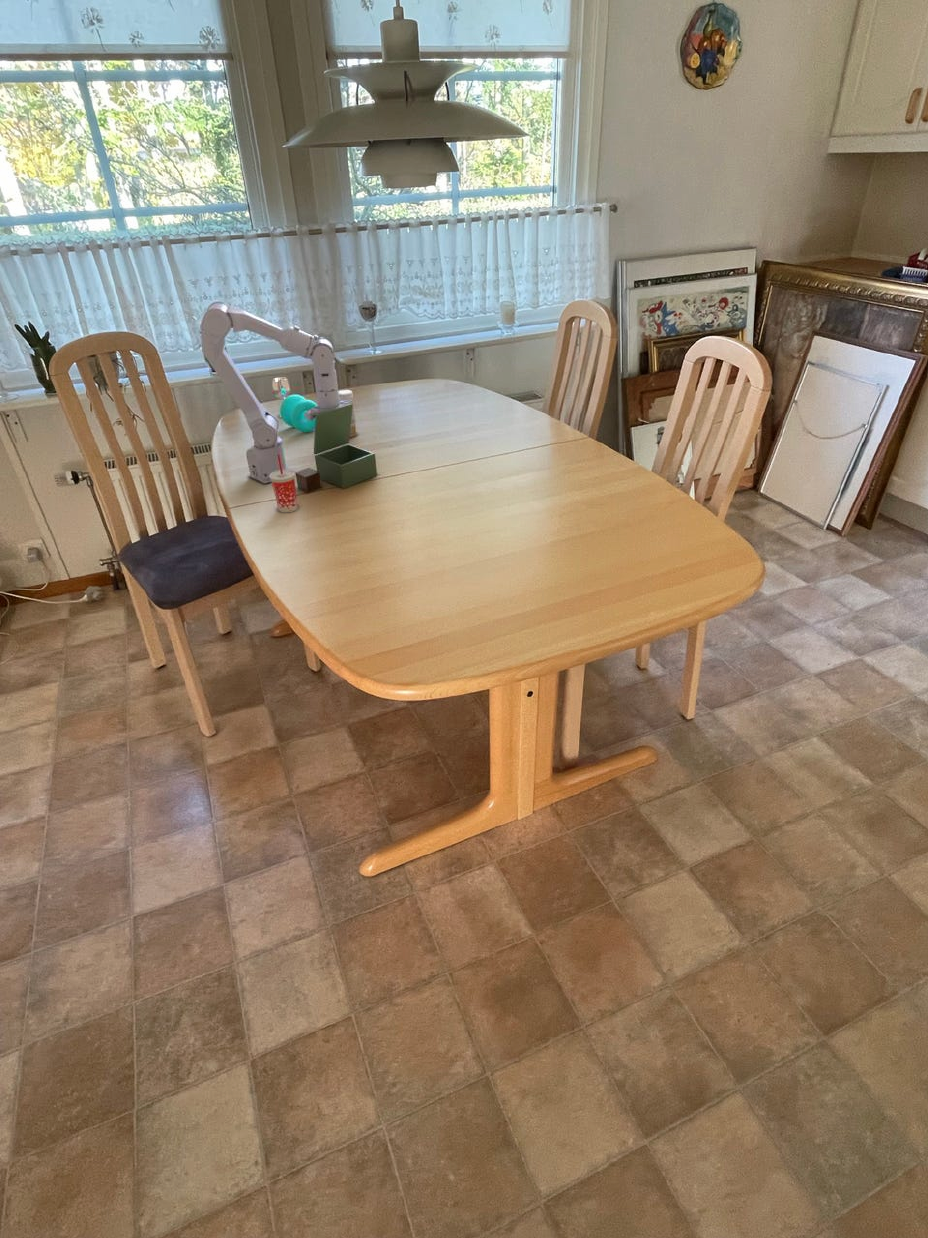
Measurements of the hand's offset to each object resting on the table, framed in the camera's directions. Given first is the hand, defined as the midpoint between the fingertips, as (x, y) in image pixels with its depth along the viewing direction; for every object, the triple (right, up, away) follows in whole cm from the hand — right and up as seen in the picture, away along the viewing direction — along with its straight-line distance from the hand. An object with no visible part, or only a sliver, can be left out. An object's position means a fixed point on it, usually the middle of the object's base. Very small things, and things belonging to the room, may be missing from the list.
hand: (333, 439), depth 188 cm
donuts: (-16, +11, +32) cm, 38 cm away
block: (-5, -14, -6) cm, 16 cm away
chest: (+4, -10, 0) cm, 11 cm away
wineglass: (-24, +19, +43) cm, 53 cm away
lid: (+1, +1, -5) cm, 5 cm away
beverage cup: (-8, -21, -16) cm, 28 cm away
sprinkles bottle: (0, +8, +26) cm, 28 cm away
